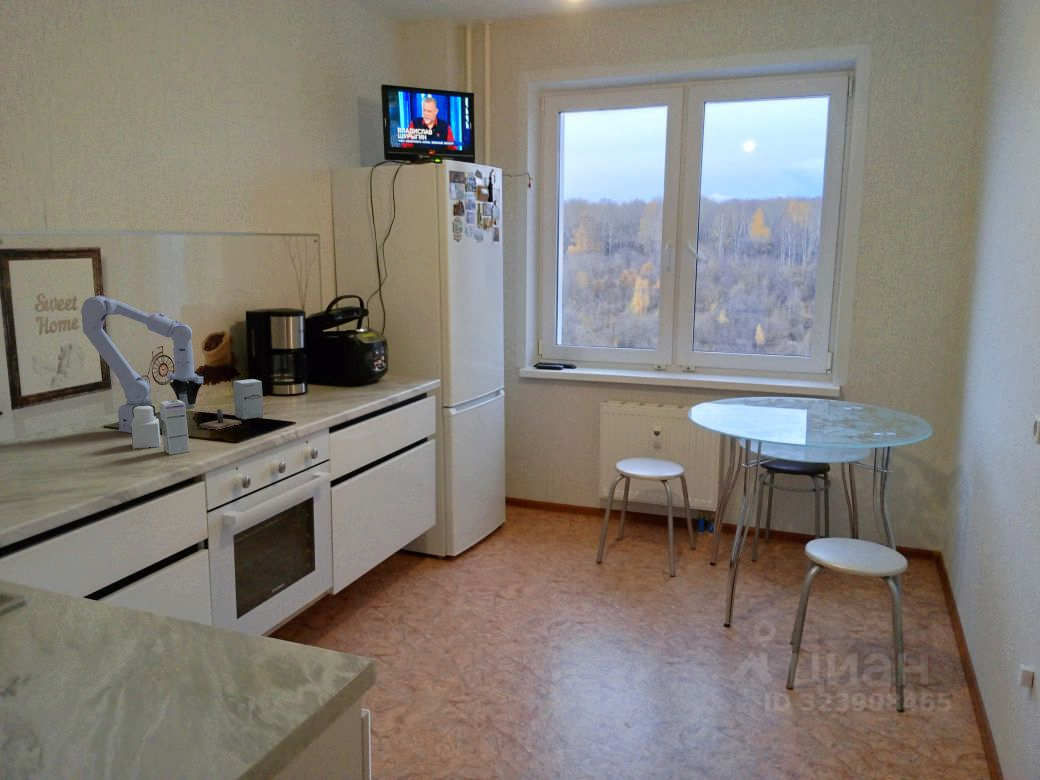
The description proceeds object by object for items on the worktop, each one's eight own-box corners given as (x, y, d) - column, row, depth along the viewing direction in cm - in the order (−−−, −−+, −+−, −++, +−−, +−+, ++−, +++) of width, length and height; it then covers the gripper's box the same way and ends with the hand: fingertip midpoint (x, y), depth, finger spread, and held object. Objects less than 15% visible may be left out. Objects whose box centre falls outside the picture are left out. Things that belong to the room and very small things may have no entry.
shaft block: (217, 430, 247) (215, 413, 246) (199, 427, 251) (198, 411, 250) (241, 424, 256) (240, 408, 255) (224, 422, 259) (223, 405, 258)
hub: (186, 409, 249) (185, 394, 248) (177, 408, 251) (176, 393, 250) (197, 407, 253) (196, 392, 252) (188, 406, 255) (187, 391, 254)
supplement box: (243, 420, 262) (240, 383, 260) (234, 416, 268) (232, 380, 266) (264, 417, 267) (262, 380, 265) (255, 413, 273) (253, 378, 270)
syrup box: (190, 452, 221) (186, 402, 218) (168, 455, 217) (164, 404, 214) (184, 448, 225) (180, 399, 222) (162, 451, 221) (158, 401, 219)
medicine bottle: (134, 443, 230) (130, 404, 228) (160, 441, 233) (157, 402, 231) (132, 449, 224) (129, 408, 221) (159, 446, 226) (156, 406, 224)
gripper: (210, 362, 249) (212, 403, 252) (179, 358, 256) (182, 399, 258) (191, 364, 243) (194, 407, 245) (160, 361, 250) (163, 402, 252)
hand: (186, 403), depth 251 cm, fingers closed on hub, 4 cm apart
